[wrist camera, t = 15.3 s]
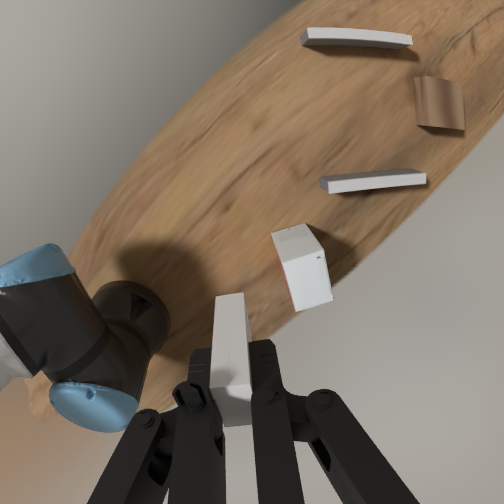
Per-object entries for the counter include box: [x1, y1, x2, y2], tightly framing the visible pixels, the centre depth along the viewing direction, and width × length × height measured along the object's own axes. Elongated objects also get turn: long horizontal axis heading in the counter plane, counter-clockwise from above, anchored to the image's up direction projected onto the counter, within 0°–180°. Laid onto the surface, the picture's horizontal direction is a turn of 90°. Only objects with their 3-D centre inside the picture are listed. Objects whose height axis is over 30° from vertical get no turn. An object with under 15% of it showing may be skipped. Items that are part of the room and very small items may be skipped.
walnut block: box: [413, 76, 465, 130], centre depth 37 cm, size 8×8×4 cm
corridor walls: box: [301, 28, 426, 194], centre depth 37 cm, size 16×23×4 cm
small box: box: [271, 223, 334, 312], centre depth 43 cm, size 8×6×10 cm
